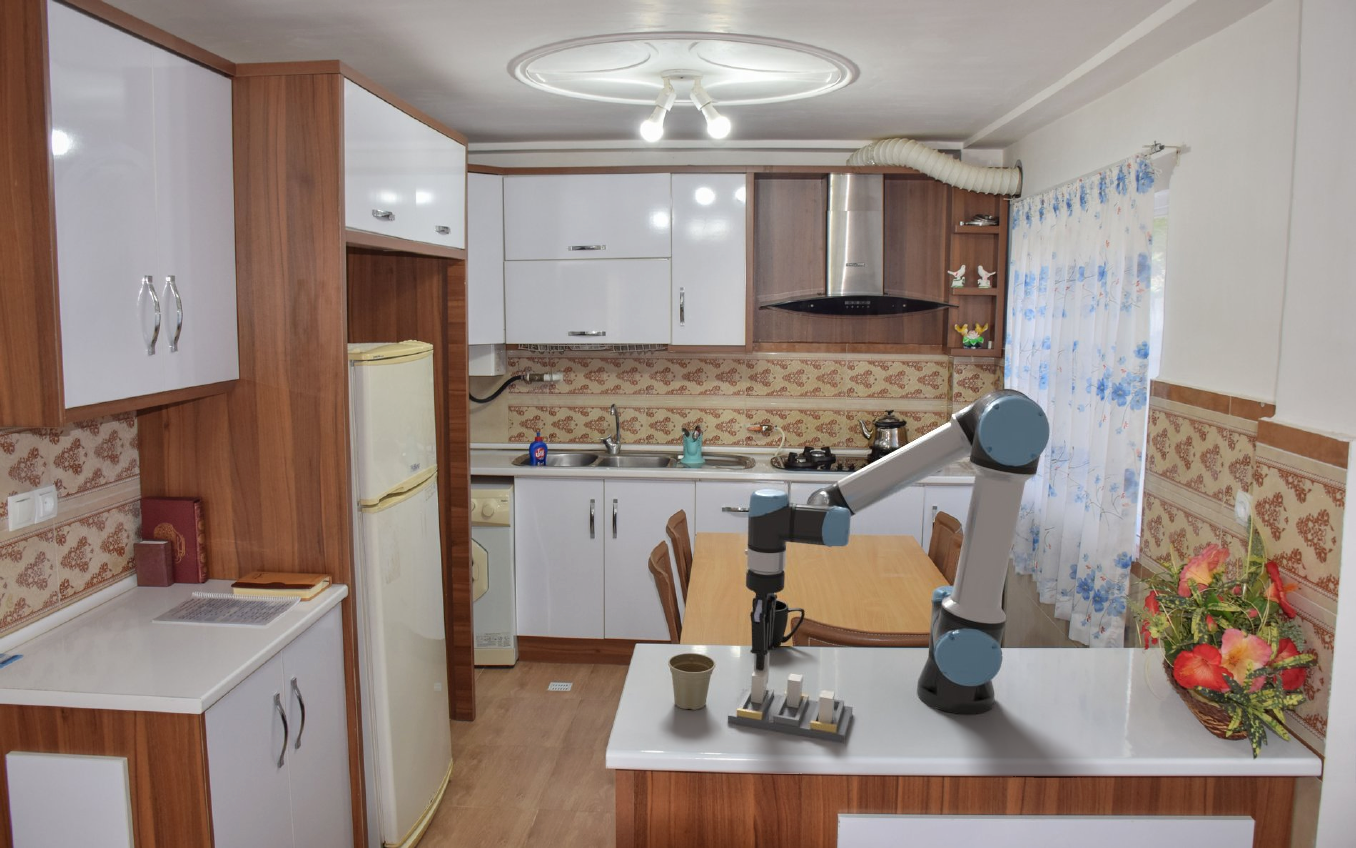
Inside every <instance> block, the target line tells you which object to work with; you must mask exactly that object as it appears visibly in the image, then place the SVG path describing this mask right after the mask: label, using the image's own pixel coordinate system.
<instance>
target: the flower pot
mask: <svg viewBox="0 0 1356 848" xmlns="http://www.w3.org/2000/svg"><path fill="white" fill-rule="evenodd" d="M667 665H668V667H669V669H670V673H671V677H672V678H671V679H672V688H673V689H672V690H673V701H674V704H675V706H677V707H678V708H679V709H682V710H688V709H690V710H693V711H695V710H699V709H702V708H704V707H705V706H706V704H707V698H708V691H709V685H710V681H711V677H712V674H713V671H714V670H715V668H716V665H717V664H716V661H715V660H714V659H713V658H712V657H710V656H708V655H705V654H701V653H697V652H696V653H694V652H685V653H684V652H683V653H678V654H676V655H675V654H674V655H673V656H671V657H670V658H668V660H667Z"/></svg>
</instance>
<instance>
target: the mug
mask: <svg viewBox="0 0 1356 848" xmlns="http://www.w3.org/2000/svg"><path fill="white" fill-rule="evenodd" d="M752 612H753V609H752ZM792 612H801V614H800V618H799V620H798V622H797V624H795V626H794V627H793V629H792V630H791V631H790V633H788V634H787V635H785V632H786V629H787V625H788V620H789V619H788V618H789V613H792ZM804 619H805V609H804V608H801V607H792V608H791V607H790V608H789V604H788V603H787V602H785V601H783V600H779V599H776V606H775V616H774V627H773V638H772V640H773V641H772V643H771V644H770V646H774V649H777V648H779V647H780V646H782V644H785V643H787V642H788V641H789V640H790V639H791V638H792V637H793V636H794V634H796V632H797V630H798V629H799V628H800V626H801V625H802V623H803V621H804Z"/></svg>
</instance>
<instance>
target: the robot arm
mask: <svg viewBox="0 0 1356 848" xmlns="http://www.w3.org/2000/svg"><path fill="white" fill-rule="evenodd" d="M1049 439H1050V423H1049V421H1048V417H1047V415H1046V413H1045V411H1044V410H1043V408H1042V407H1041V406H1040V404H1039V403H1038V402H1036V401H1035V400H1034V399H1031V398H1030V397H1029V396H1028V395H1027V394H1025V393H1023V392H1021V391H1019V390H1016V389H1011V388H1000V389H995V390H992V391H990V392H987V393H986V394H983V396H981V397H979V398H978V399H977V400H974V401H973V402H972V403H969V404H968V405H967V406H965V407H964V408H962V409H959V410H958V411H957V412H954V413H952V414H951V417H950V420H949V421H948V422H947V423H945V424H943V425H941V426H939V427H937V428H935V429H934V430H932V431H930V432H928V433H926V434H924V435H923V436H920V437H919V438H917V439H915V440H913V441H911V442H909V443H908V444H906V445H904V446H902V447H900V448H898V449H896V450H894V451H893V452H890V453H888V454H887V455H885V456H883V457H881V458H880V459H877V460H875V461H873V462H871V463H870V464H868V465H866V466H864V467H863V468H860V469H858V470H857V471H855V472H853V473H851V474H850V475H847V476H845V477H843V478H842V479H840V480H838V481H837V482H835V483H833V484H830V485H828V486H823V487H819V488H817V489H816V490H814V491H813V492H812V493H811V494H810V496H809V497H808V499H807V501H806V504H805V503H803V504H802V503H801V504H800V503H793V502H790V500H789V494H788V493H787V492H785V491H784V490H777V489H775V488H773V489H771V488H765V489H764V488H763V489H758V490H755V491H753V492H752V493H751V494H750V497H749V508H748V509H749V510H748V513H747V517H748V519H747V521H748V522H747V523H748V524H747V526H748V527H747V549H745V551H744V554H745V555H747V558H746V566H747V569H746V572H745V574H746V576H745V587H746V588H747V589H748V590H750V591H753V592H754V593H755V597H753V598H752V601H751V602H752V603H751V604H752V610H753V612H752V611H750V612H749V613H750V615H749V616H750V622H751V624H750V625H751V649H750V653H751V654H753V655H754V657H753V659H754V661H753V672H754V671H755V669H756V670H762V671H767V684H768V683H769V671H770V651H771V652H772V651H774V650H775V648H774V646H770V644H771V643H772V641H773V640H772V638H773V627H774V616H775V606H776V600H778V599H777V598H778V594H777V593H780V592H782V591H783V590H784V589H785V582H786V581H785V579H786V572H785V571H784V570H785V569H786V567H787V566H786V559H787V542H788V543H796V544H806V545H807V544H808V545H813V546H814V545H816V546H825V547H828V548H829V547H831V548H832V547H846V546H847V545H848V544H849V541H850V533H851V520H852V519H851V518H852V517H853V516H855V515H857V514H858V513H861V512H862V511H864V510H867V509H868V508H871V507H872V506H873V505H876V504H878V503H880V502H883V500H886V499H888V498H889V497H892V496H893V495H895V494H898V493H900V492H901V491H903V490H905V489H907V488H909V487H912V486H913V485H914V484H917V483H919V482H921V481H922V480H924V479H926V478H928V477H930V476H932V475H934V474H936V473H938V472H940V471H943V470H944V469H946V468H948V467H949V466H952V465H954V464H956V463H957V462H959V461H961V460H963V459H965V458H967V457H969V464H970V465H971V466H972V468H973V469H974V471H975V476H974V481H973V485H972V491H971V496H970V501H969V508H968V511H967V516H966V521H965V527H964V532H963V537H962V542H961V547H960V552H959V558H958V563H957V567H956V573H955V577H954V583H953V585H942V586H939V587H936V588H935V589H934V590H933V592H932V599H931V602H930V603H931V613H930V614H931V616H930V617H931V618H930V626H929V627H930V629H929V645H928V655H927V656H928V657H927V659H926V662H925V664H924V666H923V668H922V671H921V672H920V676H919V678H918V679H917V680H918V681H917V688H916V695H917V696H918V697H919V699H920V700H921V701H923V702H924V703H925V704H927V705H928V706H930V707H933V708H935V709H938V710H940V711H941V710H942V711H944V712H948V713H953V714H960V715H962V714H963V715H975V714H981V713H985V712H988V711H989V710H991V709H992V708H993V707H994V705H995V689H994V685H993V679H994V678H995V677H996V676H997V675H998V674H999V672H1000V670H1001V667H1002V663H1003V651H1002V648H1001V645H1002V640H1003V635H1004V630H1005V626H1006V621H1007V614H1006V613H1005V611H1004V610H1003V608H1002V607H1001V601H1002V597H1003V596H1002V595H1003V591H1004V588H1005V587H1004V586H1005V582H1006V577H1007V572H1008V567H1009V563H1010V559H1011V558H1010V557H1011V554H1012V547H1013V543H1014V537H1015V533H1016V528H1017V525H1018V519H1019V518H1018V517H1019V514H1020V510H1021V506H1022V505H1021V504H1022V501H1023V500H1022V499H1023V495H1024V490H1025V487H1026V486H1025V484H1026V482H1028V481H1029V480H1030V479H1032V478H1034V477H1035V476H1036V475H1037V472H1038V467H1039V463H1040V458H1041V455H1042V454H1043V452H1044V450H1045V449H1046V448H1047V445H1048V443H1049Z"/></svg>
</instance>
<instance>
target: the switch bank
mask: <svg viewBox="0 0 1356 848" xmlns="http://www.w3.org/2000/svg"><path fill="white" fill-rule="evenodd" d="M809 697H810V695H809V694H804V693H802V702H801V704H800V707H799V708H794V707H788V706H787V691H786V690H785V691H784V692H783V694H775V689H774V688H767V687H766V698H765V700H764V702H763V704H760V703H754V702H751V685H749V688H748V689H743V688H742V691H741V692H740V694H739V696H738V697H737V699H736V701H735V703H734V704H733V706H732V707H731V709H730V711H729V713H728V714H727V723H729V724H732V725H738V726H739V725H740V726H744V727H745V726H746V727H751V728H755V729H756V728H757V729H761V730H767V731H773V732H779V733H784V734H788V735H789V734H790V735H796V736H801V737H807V738H813V739H818V740H825V741H830V742H835V743H842V744H845V740H846V737H847V733H848V731H849V727H850V723H851V720H852V717H853V709H854V708H853V706H849V705H845V700H840V699H835V698H834V715H833V722H832V724H829V723H823V722H818V716H819V700H818V701H817V700H812V699H809Z"/></svg>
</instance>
